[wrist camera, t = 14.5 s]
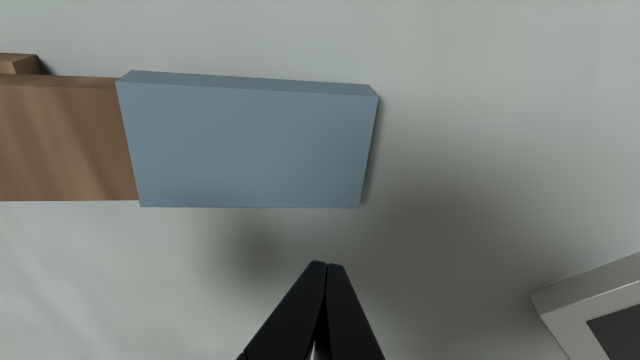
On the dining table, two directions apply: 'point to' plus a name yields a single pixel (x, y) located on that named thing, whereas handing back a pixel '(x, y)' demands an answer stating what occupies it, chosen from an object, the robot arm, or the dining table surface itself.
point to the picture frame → (595, 311)
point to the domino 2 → (246, 140)
